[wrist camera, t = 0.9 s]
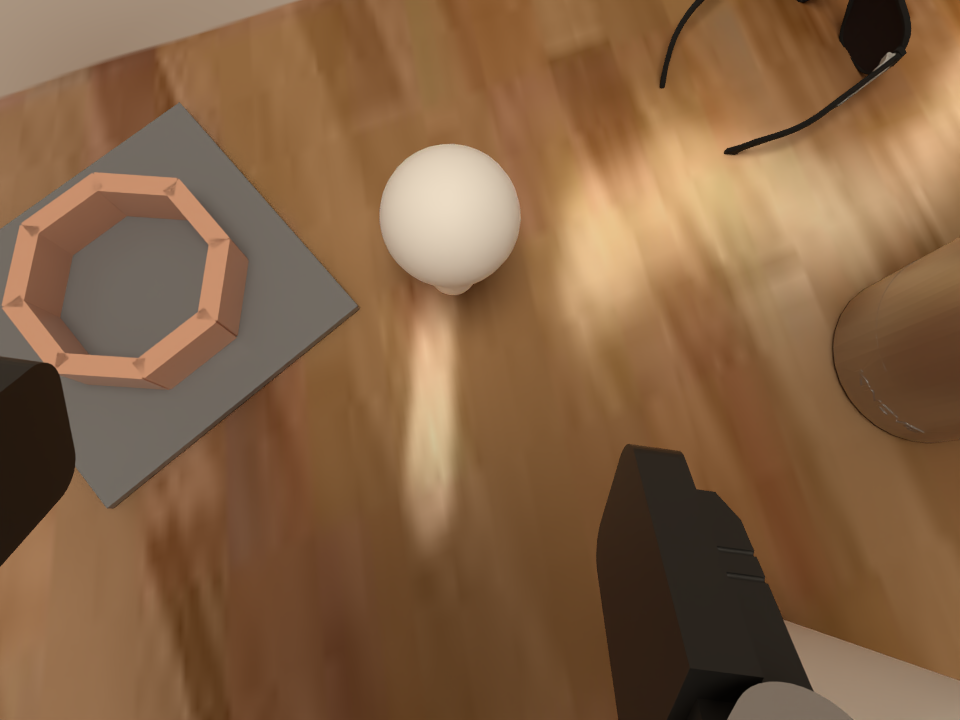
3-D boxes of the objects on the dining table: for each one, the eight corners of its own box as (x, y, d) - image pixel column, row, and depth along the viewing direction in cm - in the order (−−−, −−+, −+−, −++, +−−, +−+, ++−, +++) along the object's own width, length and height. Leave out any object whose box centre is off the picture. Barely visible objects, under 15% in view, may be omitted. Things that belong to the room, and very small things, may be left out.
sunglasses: (894, 71, 41) (943, 18, 36) (745, 196, 40) (774, 160, 36) (771, -45, 42) (803, -110, 37) (627, 75, 42) (640, 25, 37)
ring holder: (183, 108, 39) (155, 68, 35) (359, 309, 37) (348, 287, 33) (-60, 280, 36) (-115, 256, 33) (112, 508, 34) (72, 508, 30)
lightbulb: (383, 245, 37) (351, 139, 27) (486, 212, 38) (496, 96, 27) (417, 346, 36) (398, 278, 25) (524, 311, 37) (548, 230, 26)
